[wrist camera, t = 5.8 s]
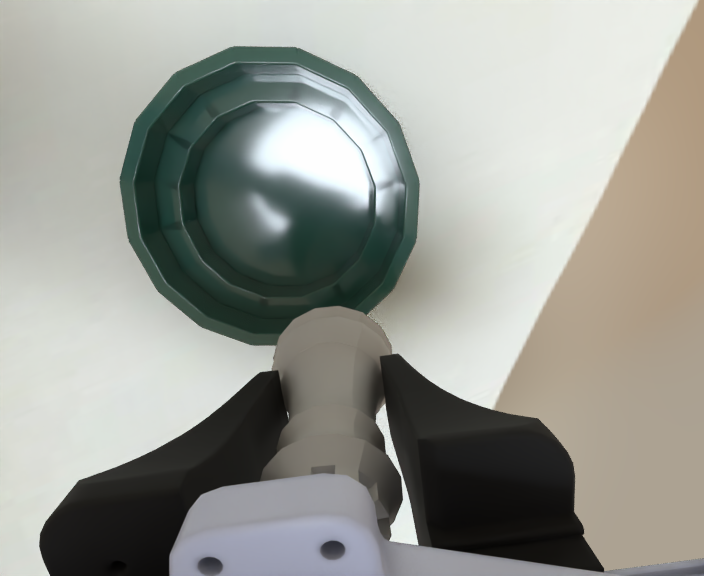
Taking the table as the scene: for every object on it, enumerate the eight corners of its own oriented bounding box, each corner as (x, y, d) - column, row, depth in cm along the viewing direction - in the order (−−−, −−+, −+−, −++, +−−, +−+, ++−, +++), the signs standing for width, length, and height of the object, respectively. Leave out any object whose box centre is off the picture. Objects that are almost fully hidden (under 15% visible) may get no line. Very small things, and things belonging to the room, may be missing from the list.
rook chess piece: (307, 280, 15) (276, 401, 8) (413, 333, 16) (481, 491, 8) (255, 379, 16) (183, 571, 9) (357, 424, 17) (372, 638, 9)
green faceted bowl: (115, 200, 22) (60, 210, 17) (277, 9, 19) (260, -34, 15) (291, 353, 24) (281, 394, 20) (450, 201, 22) (478, 211, 18)
